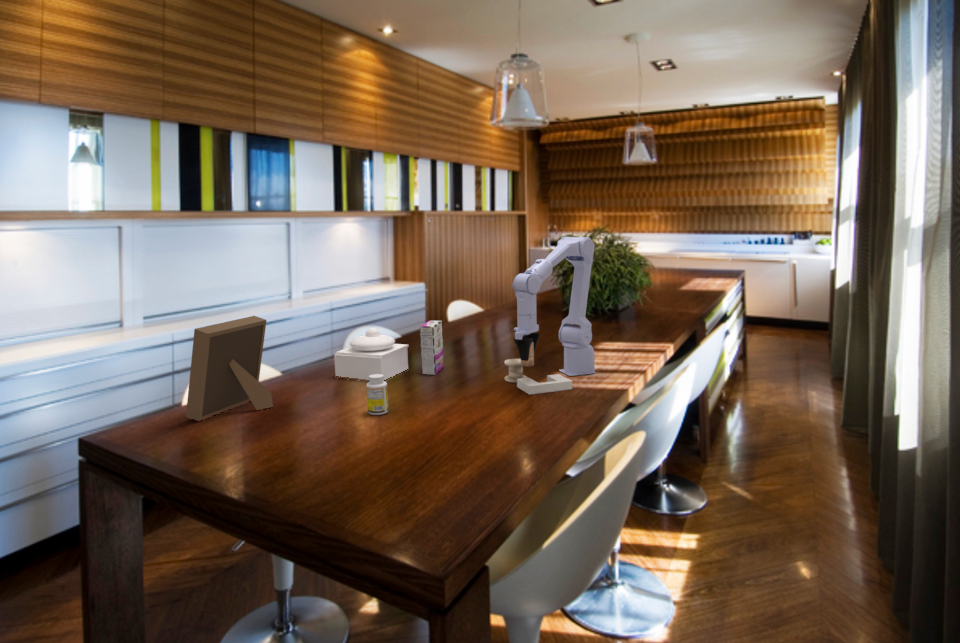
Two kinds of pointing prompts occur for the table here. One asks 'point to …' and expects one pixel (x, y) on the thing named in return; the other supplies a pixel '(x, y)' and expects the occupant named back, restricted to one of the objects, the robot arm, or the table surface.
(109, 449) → the table surface
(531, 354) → the copper peg
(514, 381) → the bobbin
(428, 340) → the candy bar box
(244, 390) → the photo frame
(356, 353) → the butter dish
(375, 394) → the supplement bottle
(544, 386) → the notched board
